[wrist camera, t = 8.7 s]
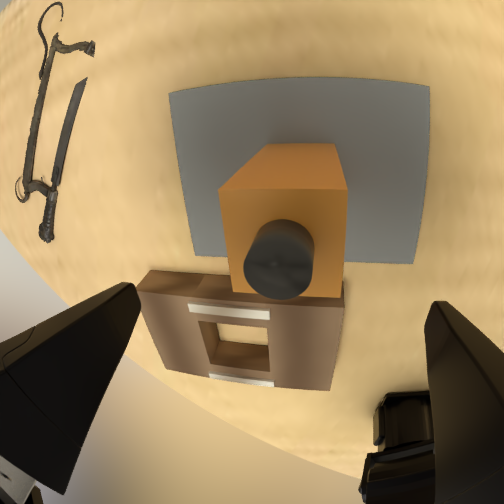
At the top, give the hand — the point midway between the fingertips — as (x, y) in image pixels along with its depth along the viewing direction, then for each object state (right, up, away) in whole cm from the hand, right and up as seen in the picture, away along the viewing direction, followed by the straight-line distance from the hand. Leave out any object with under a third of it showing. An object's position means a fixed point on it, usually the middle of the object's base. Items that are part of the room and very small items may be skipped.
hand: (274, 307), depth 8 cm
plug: (+2, +6, +9) cm, 11 cm away
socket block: (-1, -5, +17) cm, 18 cm away
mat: (+2, +6, +10) cm, 12 cm away
